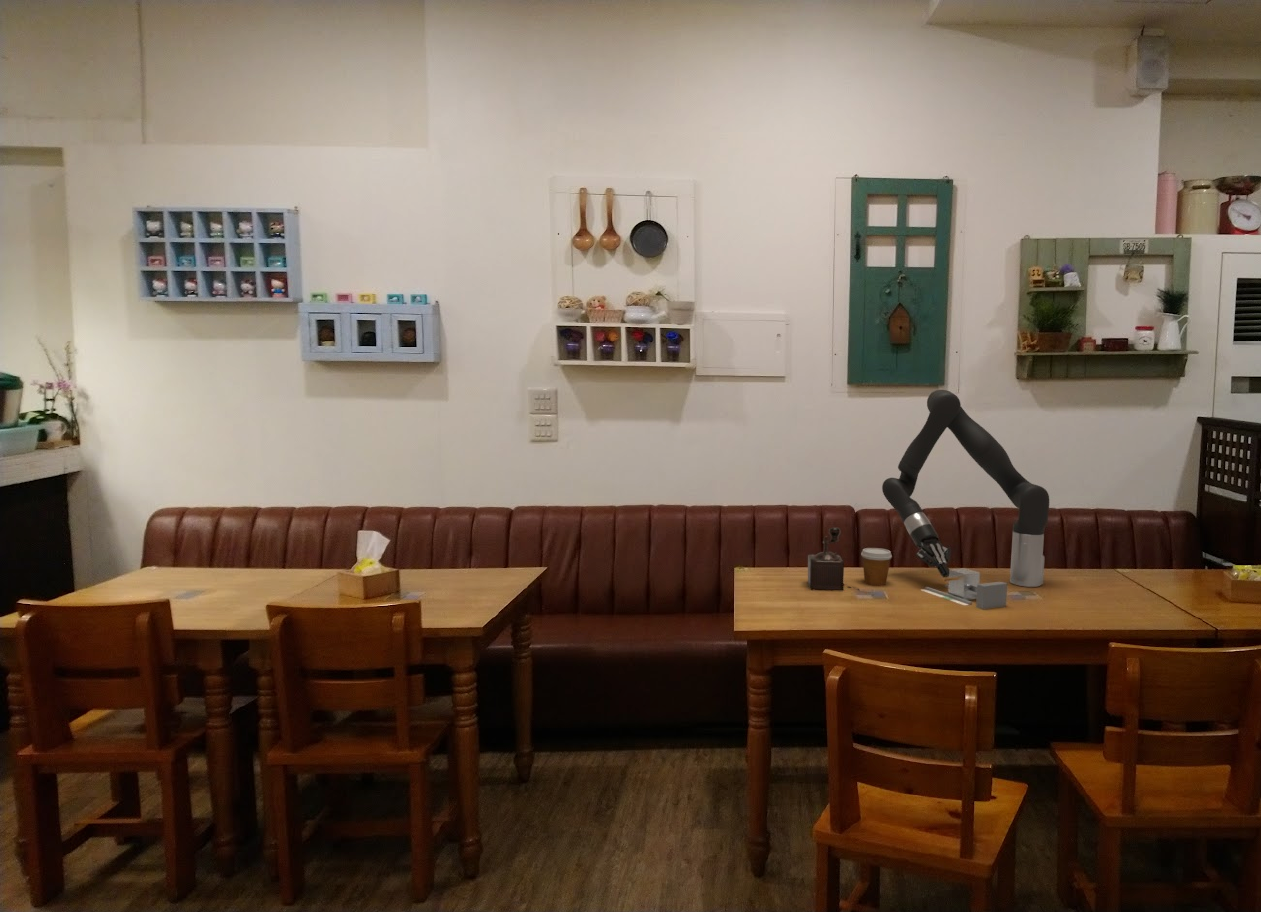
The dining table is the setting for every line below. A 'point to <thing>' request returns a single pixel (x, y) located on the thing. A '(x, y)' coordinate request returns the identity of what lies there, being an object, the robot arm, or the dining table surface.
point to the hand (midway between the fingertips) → (947, 575)
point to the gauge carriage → (963, 583)
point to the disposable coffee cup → (876, 565)
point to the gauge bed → (979, 595)
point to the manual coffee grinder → (826, 566)
